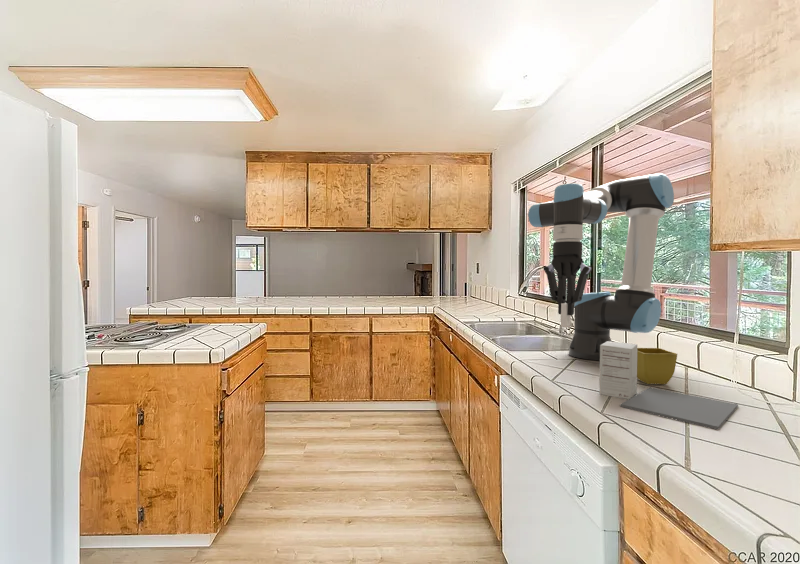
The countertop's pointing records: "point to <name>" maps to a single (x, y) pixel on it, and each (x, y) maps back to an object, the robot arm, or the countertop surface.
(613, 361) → the supplement box
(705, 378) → the countertop surface
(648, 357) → the flower pot
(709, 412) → the mat
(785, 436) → the countertop surface
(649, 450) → the countertop surface
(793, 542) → the countertop surface
